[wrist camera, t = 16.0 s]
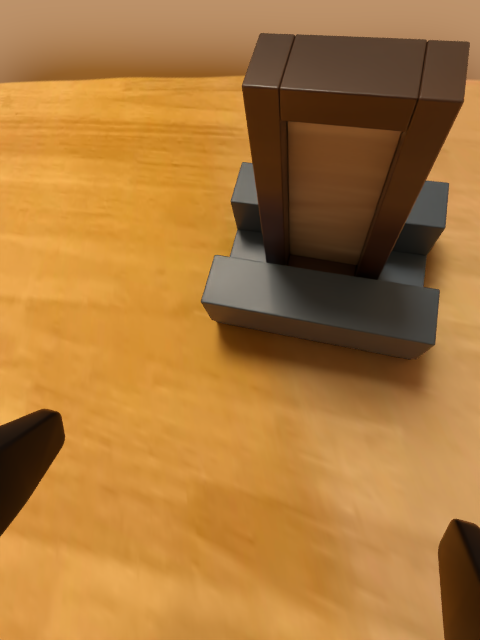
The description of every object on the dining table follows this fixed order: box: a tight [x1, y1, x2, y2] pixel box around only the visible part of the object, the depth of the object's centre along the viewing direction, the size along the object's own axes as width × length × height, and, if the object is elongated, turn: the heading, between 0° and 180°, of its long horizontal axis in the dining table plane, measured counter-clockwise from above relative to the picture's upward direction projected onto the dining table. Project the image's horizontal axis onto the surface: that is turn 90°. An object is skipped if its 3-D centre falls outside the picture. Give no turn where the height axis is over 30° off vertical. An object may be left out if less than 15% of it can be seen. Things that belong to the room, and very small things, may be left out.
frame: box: [242, 33, 470, 280], centre depth 17 cm, size 2×6×13 cm, turn 75°
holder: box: [201, 162, 449, 359], centre depth 23 cm, size 10×12×4 cm
